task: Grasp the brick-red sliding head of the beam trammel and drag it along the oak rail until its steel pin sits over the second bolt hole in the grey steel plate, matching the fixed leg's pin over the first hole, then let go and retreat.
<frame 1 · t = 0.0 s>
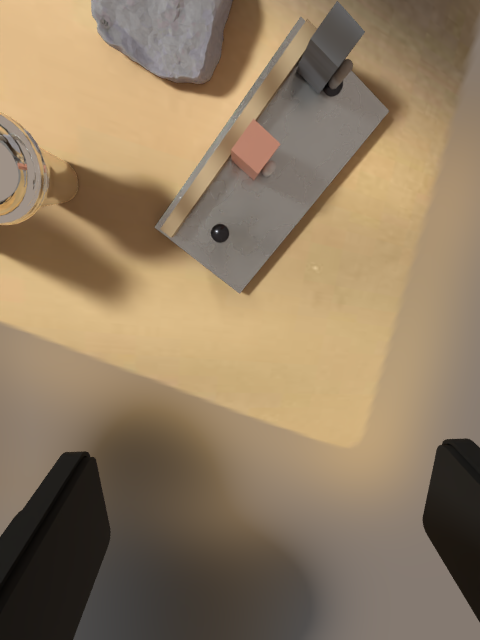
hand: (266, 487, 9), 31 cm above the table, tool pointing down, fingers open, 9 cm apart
sliding head: (257, 156, 30), point 5 cm above the table, slide at 0.0 cm
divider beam: (250, 150, 30), on the bolt plate, point 4 cm above the table
stone block: (165, 23, 31), on the table
drinking straw: (57, 183, 35), on the table
bolt plate: (265, 173, 35), on the table
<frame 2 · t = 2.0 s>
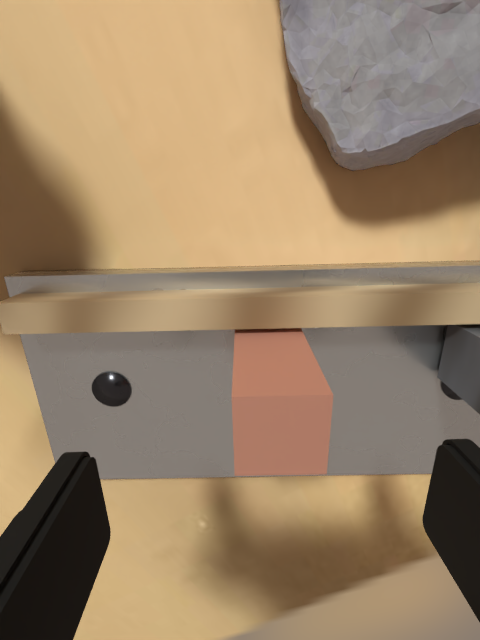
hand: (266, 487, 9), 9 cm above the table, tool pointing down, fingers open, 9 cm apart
sliding head: (272, 397, 13), point 4 cm above the table, slide at 0.0 cm
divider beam: (272, 376, 13), on the bolt plate, point 4 cm above the table
bolt plate: (264, 374, 18), on the table
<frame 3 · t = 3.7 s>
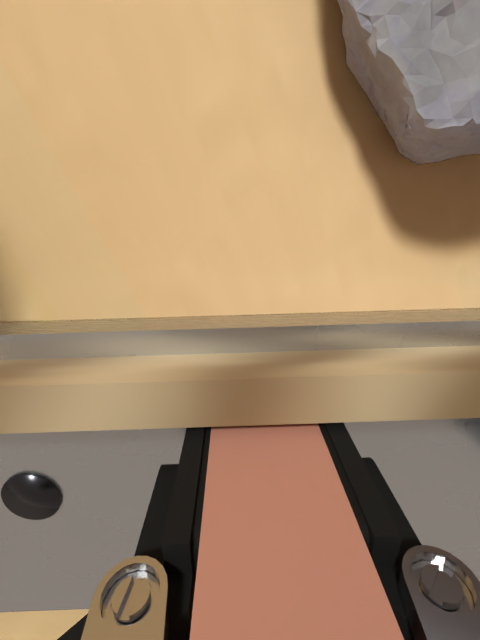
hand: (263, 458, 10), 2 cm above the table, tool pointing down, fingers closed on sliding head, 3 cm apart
sliding head: (272, 550, 8), point 5 cm above the table, slide at 0.0 cm, touching gripper
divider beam: (272, 518, 8), on the bolt plate, point 4 cm above the table
bolt plate: (258, 462, 12), on the table
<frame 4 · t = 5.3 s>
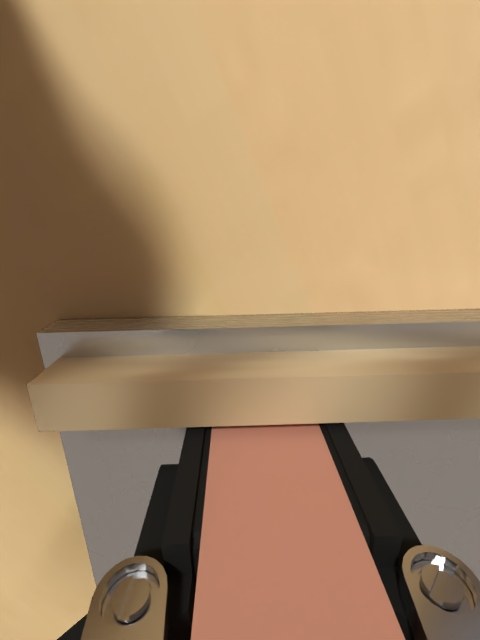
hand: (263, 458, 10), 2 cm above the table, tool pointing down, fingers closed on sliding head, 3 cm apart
sliding head: (273, 550, 8), point 5 cm above the table, slide at 5.5 cm, touching gripper
bolt plate: (399, 458, 13), on the table
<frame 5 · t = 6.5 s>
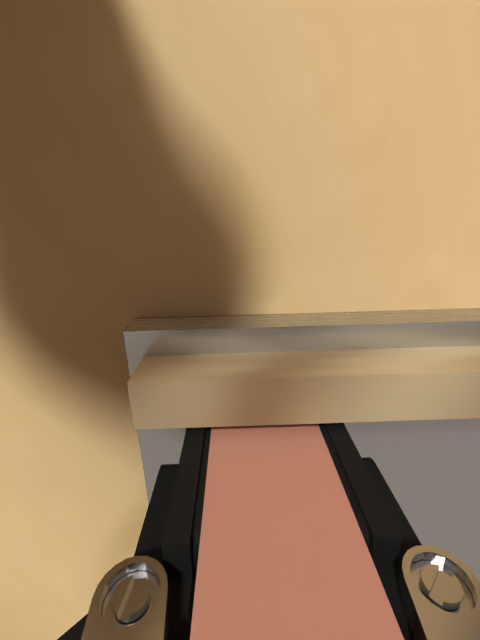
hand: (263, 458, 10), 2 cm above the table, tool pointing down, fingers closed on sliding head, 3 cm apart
sliding head: (272, 550, 8), point 4 cm above the table, slide at 8.0 cm, touching gripper
bolt plate: (463, 455, 13), on the table
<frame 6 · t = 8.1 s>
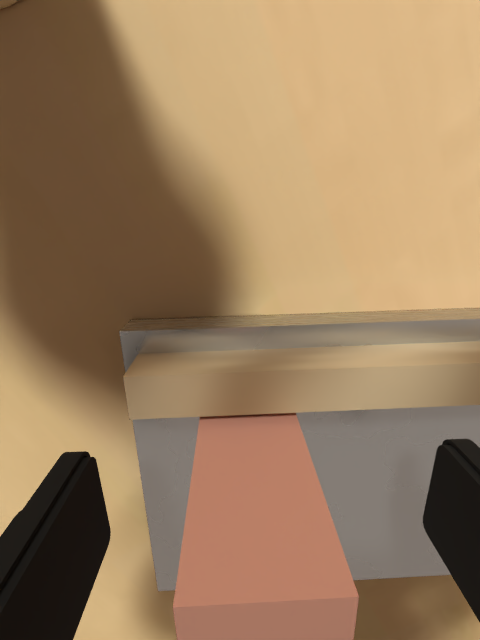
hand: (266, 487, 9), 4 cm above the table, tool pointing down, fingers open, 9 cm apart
sliding head: (253, 525, 9), point 5 cm above the table, slide at 8.0 cm
bolt plate: (434, 445, 14), on the table
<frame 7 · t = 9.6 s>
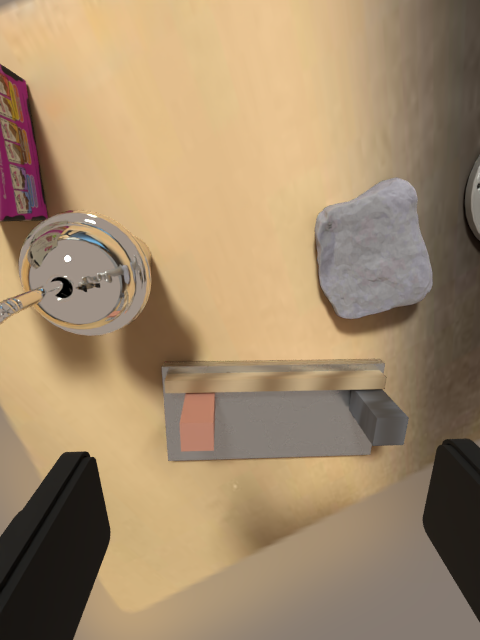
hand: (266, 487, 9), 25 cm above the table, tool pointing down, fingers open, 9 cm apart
sliding head: (199, 421, 32), point 4 cm above the table, slide at 8.0 cm
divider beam: (278, 411, 32), on the bolt plate, point 4 cm above the table
candy bar box: (11, 154, 28), on the table
stone block: (357, 254, 33), on the table
drinking straw: (125, 258, 31), on the table
bolt plate: (271, 407, 37), on the table
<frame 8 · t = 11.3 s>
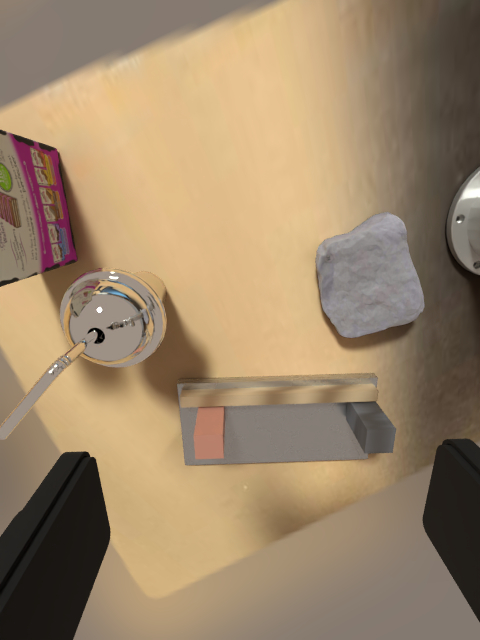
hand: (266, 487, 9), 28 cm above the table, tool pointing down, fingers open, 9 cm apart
sliding head: (211, 432, 37), point 4 cm above the table, slide at 8.0 cm
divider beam: (281, 423, 37), on the bolt plate, point 4 cm above the table
candy bar box: (46, 209, 33), on the table
stone block: (356, 278, 36), on the table
drinking straw: (143, 291, 36), on the table
bolt plate: (275, 417, 41), on the table
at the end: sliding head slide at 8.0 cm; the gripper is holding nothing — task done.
